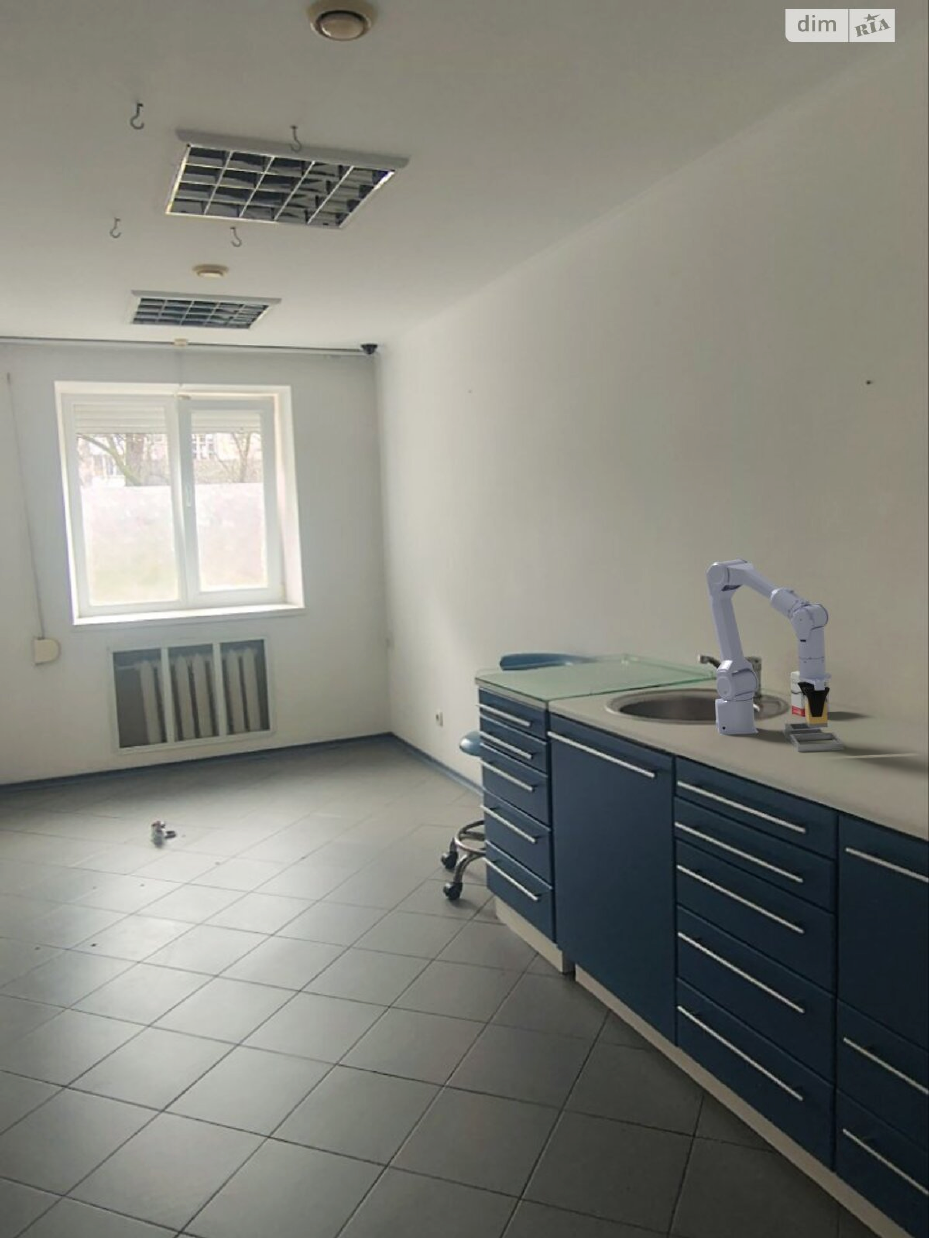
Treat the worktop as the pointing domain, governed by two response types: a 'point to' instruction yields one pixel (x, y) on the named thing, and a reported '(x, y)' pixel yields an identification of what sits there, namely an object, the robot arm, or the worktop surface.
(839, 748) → the parts tray
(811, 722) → the block
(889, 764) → the worktop surface
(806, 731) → the socket block
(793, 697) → the ink box
